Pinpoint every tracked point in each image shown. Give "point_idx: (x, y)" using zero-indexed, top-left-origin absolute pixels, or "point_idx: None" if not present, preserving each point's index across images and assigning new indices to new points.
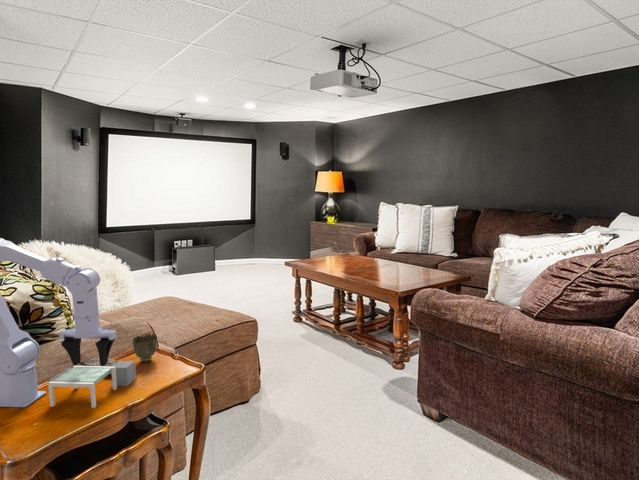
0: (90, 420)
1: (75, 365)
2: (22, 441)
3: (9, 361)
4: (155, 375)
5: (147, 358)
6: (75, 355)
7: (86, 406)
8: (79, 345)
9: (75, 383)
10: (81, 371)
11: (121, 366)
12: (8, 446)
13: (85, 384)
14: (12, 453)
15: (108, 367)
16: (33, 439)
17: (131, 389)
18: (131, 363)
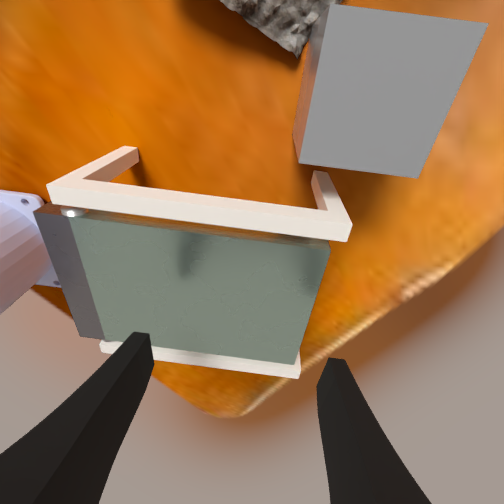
0: (309, 350)
1: (153, 363)
2: (200, 389)
3: None
4: None
5: None
6: (121, 424)
7: None
8: (63, 473)
9: (222, 368)
10: (164, 272)
11: (374, 149)
12: (186, 397)
13: (266, 372)
14: (210, 410)
15: (306, 233)
16: (217, 388)
17: (400, 185)
18: (455, 87)
